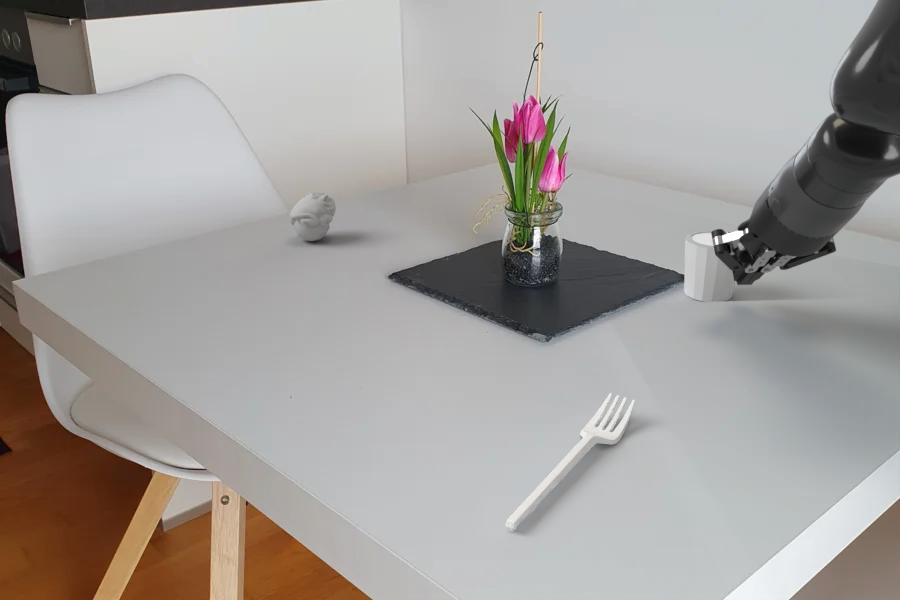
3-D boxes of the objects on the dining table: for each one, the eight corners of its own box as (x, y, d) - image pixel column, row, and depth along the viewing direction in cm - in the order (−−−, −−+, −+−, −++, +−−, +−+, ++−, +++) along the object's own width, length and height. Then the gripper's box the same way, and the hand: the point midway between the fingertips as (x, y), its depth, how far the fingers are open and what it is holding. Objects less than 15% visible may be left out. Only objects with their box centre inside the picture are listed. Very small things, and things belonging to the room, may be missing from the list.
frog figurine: (346, 238, 121) (344, 192, 119) (307, 250, 117) (304, 201, 114) (320, 230, 125) (317, 184, 123) (281, 240, 120) (278, 193, 118)
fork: (489, 524, 61) (490, 502, 60) (604, 409, 76) (605, 391, 75) (529, 540, 59) (530, 518, 58) (638, 419, 74) (640, 401, 74)
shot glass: (714, 309, 97) (722, 252, 95) (667, 291, 102) (673, 237, 100) (748, 295, 101) (757, 240, 99) (701, 279, 106) (708, 226, 104)
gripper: (871, 163, 78) (793, 245, 94) (732, 164, 77) (677, 247, 93) (891, 235, 75) (807, 307, 91) (747, 237, 75) (687, 310, 90)
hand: (741, 277), depth 92 cm, fingers closed
